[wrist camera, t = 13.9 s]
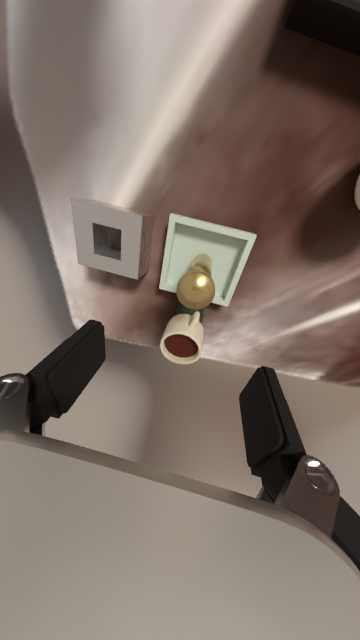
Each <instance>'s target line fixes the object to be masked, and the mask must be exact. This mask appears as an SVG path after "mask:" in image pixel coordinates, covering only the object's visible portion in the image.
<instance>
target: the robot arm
mask: <svg viewBox="0 0 360 640" xmlns="http://www.w3.org/2000/svg"><path fill="white" fill-rule="evenodd" d="M105 357H106V355H105V336H104V326H103V325H102V323H101V322H99V321H95V320H89V321H88V322H87V323H86V324H84V325H83V326H82V327H81V328H80V329H79V330H78V331H76V333H74V334H73V335H72V336H71V337H70V338H68V339H66V340H65V341H64V342H63V343H62V344H60V345H59V346H58V347H57V348H56V349H55V350H54V351H52V353H50V354H49V355H48V356H47V357H46V358H44V359H43V360H42V361H41V362H40V363H39V364H38V365H37V366H35V367H34V368H33V369H32V370H31V371H30V372H29V373H27V374H26V375H24V374H22V373H12V374H7V375H4V376H1V377H0V640H360V516H359V515H358V514H357V513H356V512H355V511H354V510H353V509H352V508H351V507H350V506H349V505H348V503H346V501H345V500H344V499H343V498H342V497H340V490H339V486H338V483H337V481H336V479H335V477H334V475H333V474H332V473H331V471H330V470H329V469H328V467H326V465H325V464H323V463H322V462H321V461H320V460H319V459H317V458H315V457H313V456H310V455H307V454H306V452H305V449H304V446H303V444H302V441H301V438H300V436H299V433H298V430H297V428H296V425H295V423H294V420H293V417H292V414H291V412H290V409H289V406H288V404H287V401H286V399H285V397H284V394H283V392H282V389H281V386H280V384H279V381H278V378H277V375H276V373H275V370H274V369H272V368H269V367H265V366H262V367H261V368H258V369H257V370H256V372H255V373H254V374H253V376H252V377H251V379H250V380H249V382H248V383H247V385H246V386H245V388H244V389H243V391H242V392H241V394H240V396H239V402H240V409H241V418H242V424H243V433H244V441H245V449H246V456H247V463H248V466H249V467H251V473H252V475H255V476H258V477H261V480H262V485H263V487H262V488H261V490H260V492H259V494H258V495H257V497H256V498H253V497H250V496H247V495H243V494H240V493H237V492H234V491H231V490H228V489H224V488H221V487H218V486H214V485H211V484H208V483H204V482H200V481H197V480H194V479H190V478H187V477H184V476H181V475H177V474H174V473H170V472H167V471H164V470H160V469H157V468H154V467H150V466H147V465H143V464H140V463H137V462H133V461H129V460H126V459H123V458H119V457H116V456H113V455H109V454H105V453H102V452H99V451H95V450H92V449H88V448H85V447H81V446H78V445H74V444H71V443H67V442H64V441H60V440H56V439H52V438H49V437H45V422H46V421H47V420H48V419H49V418H50V416H51V417H55V418H60V417H61V415H62V414H63V413H66V412H67V411H68V410H69V409H70V407H71V406H72V405H73V403H74V402H75V401H76V399H77V398H78V396H79V395H80V394H81V392H82V391H83V390H84V388H85V387H86V386H87V384H88V383H89V382H90V380H91V379H92V377H93V376H94V375H95V373H96V372H97V370H98V369H99V368H100V366H101V365H102V363H103V362H104V360H105Z"/></svg>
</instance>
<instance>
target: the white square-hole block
mask: <svg viewBox="0 0 360 640" xmlns="http://www.w3.org/2000/svg"><path fill="white" fill-rule="evenodd" d="M71 204H72V213H73V222H74V230H75V239H76V248H77V256H78V264H80V265H84V266H88V267H92V268H95V269H99V270H103V271H107V272H110V273H114V274H118V275H122V276H126V277H129V278H133V279H137V280H138V279H139V278H140V277H141V276H143V275H144V274H145V273H146V272H147V271H148V270H149V261H150V251H151V242H152V232H153V223H154V215H151V214H147V213H143V212H139V211H135V210H131V209H127V208H123V207H119V206H115V205H111V204H107V203H103V202H99V201H95V200H86V199H77V198H71ZM111 227H112V228H116V229H120V230H121V250H118V249H114V248H112V237H111Z"/></svg>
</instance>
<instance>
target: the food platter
mask: <svg viewBox="0 0 360 640" xmlns="http://www.w3.org/2000/svg"><path fill="white" fill-rule="evenodd" d="M285 28H287V29H290V30H293V31H295V32H298V33H301V34H303V35H306V36H308V37H311V38H314V39H316V40H319V41H322V42H324V43H327V44H329V45H332V46H335V47H337V48H340V49H343V50H345V51H348V52H350V53H353V54H356V55H358V56H360V0H294V3H293V6H292V9H291V12H290V14H289V17H288V20H287V23H286V25H285Z"/></svg>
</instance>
